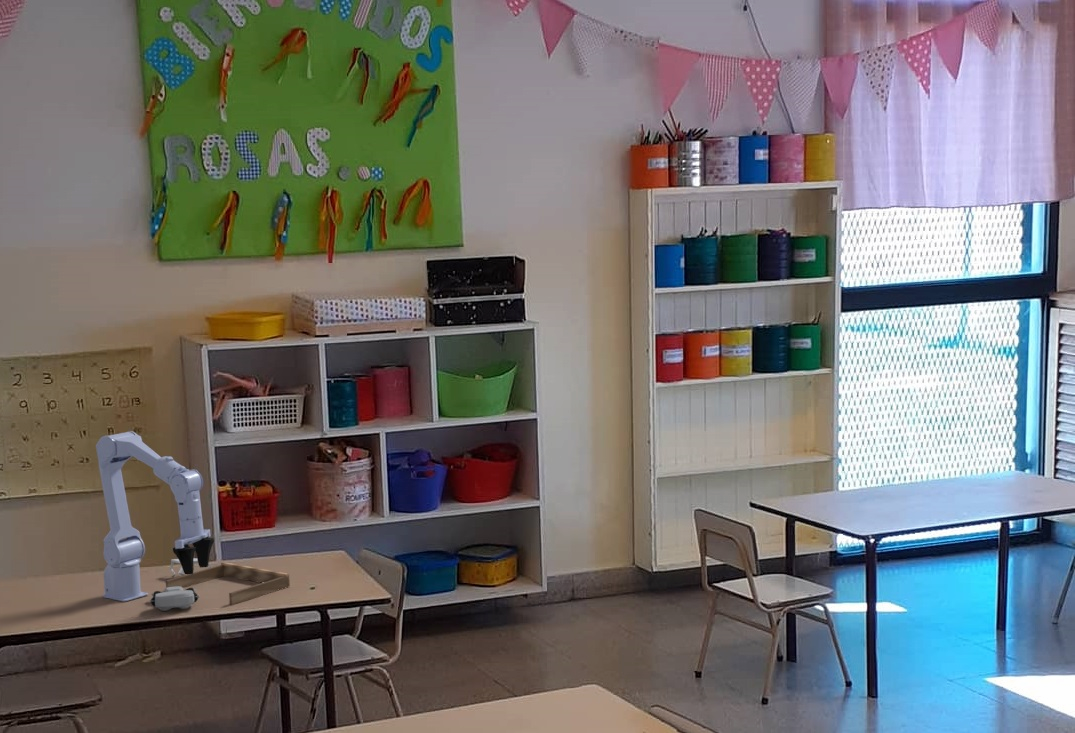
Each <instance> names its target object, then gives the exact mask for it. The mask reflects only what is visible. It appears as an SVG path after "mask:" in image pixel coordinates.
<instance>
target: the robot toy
mask: <svg viewBox="0 0 1075 733" xmlns="http://www.w3.org/2000/svg"><path fill="white" fill-rule="evenodd" d="M151 596H152V598H150V600H149V603H150V604H151V605H152V607H155V608H156V609H159V610H160V611H161V612H168V611H170V610H171V609H172V608H173V609H174V608H178V609H180V610H186V609H189V608H190V607H191V606H192V605H194V604H195V603H196V602H197V601H198V599H199V598H200V594H197V592H196V588H193V587H189V588H186V589H184V588H182V587H181V586H175V587H168V588H166V587H165V588H164V590H163V592H162V591H160V590H156V591H154V592H152V593H151Z"/></svg>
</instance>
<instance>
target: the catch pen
mask: <svg viewBox="0 0 1075 733" xmlns="http://www.w3.org/2000/svg"><path fill="white" fill-rule="evenodd" d="M228 576H229V577H230V578H233V577H234V579H239V578H240V580H244V579H246V580H245V581H249V580H252V581H251V582H255V581H258V582H257V584H254V585H251V586H247V587H245V588H242V589H238V590H235V591H232V592H229V593H228V596H229V597H228V598H229V600H228V601H229V605H230V606H233V605H237V604H240V603H243V602H246V601H249V600H253V599H256V598H259V597H262V596H265V595H267V594H266V593H268V594H271V593H270V592H272V593H274V592H273V591H275V592H277V591H276V590H278V589H281V590H283V589H282V588H284V589H286V588H285V587H287V588H289V587H288V586H290V587H291V585H290V584H291V583H290V573H288V572H287V573H286V572H280V571H277V570H270V569H264V568H261V567H253V566H249V565H242V564H238V563H231V562H227V561H226V562H225V561H222V562H220V565H219V564H218V565H216V566H212V567H211V568H209V567H207V568H205V569H202V570H199V571H195V572H194V571H193V574H184V576H182V575H180V576H177V577H174V578H171V579H167V580H165V588H168V587H175V586H181V587H182V588H183V589H184V588H187V587H190V586H194V585H197V584H200V583H204V582H207V581H211V580H214V579H218V578H221V577H228ZM229 577H228V578H229ZM260 582H264V583H260ZM278 591H279V590H278ZM264 594H265V595H264ZM261 595H262V596H261Z"/></svg>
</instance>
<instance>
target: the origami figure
mask: <svg viewBox="0 0 1075 733" xmlns="http://www.w3.org/2000/svg"><path fill="white" fill-rule="evenodd" d="M174 564H180V565H181V563H180V561H179V559H178V558H174V559H173V558H172V559H170V571H171V572H172V573H173V577H175V576H176V572H175V571H174V569H173V566H174ZM194 564H198V559H197V558H195V557H194V559H193V565H194ZM207 568H212V567H211V565H210V563H208V567H207ZM177 574H178V575H180V576H184V575H185V573H184V571H183V568H182V566H180V568H179V571H178V572H177Z"/></svg>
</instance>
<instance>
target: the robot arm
mask: <svg viewBox="0 0 1075 733" xmlns="http://www.w3.org/2000/svg"><path fill="white" fill-rule="evenodd" d="M95 450H96V455H97V460H98V470H99V475H100V480H101V485H102V492H103V497H104V498H103V499H104V502H105V509H106V513H107V518H108V519H107V520H108V523H109V524H108V525H109V529H110V530H109V532H108V533H107V534H106V535H105V537H104V538H103V540H102V541H103V558H104V560H105V562H106V563H107V565H106V566H105V567H104V570H103V582H104V583H103V584H104V586H103V587H104V594H102V596H101V597H102V598H105V599H109V600H114V601H119V602H124V603H125V602H128V601H132V600H135V599H139V598H142V597H145V596H148V595H149V593H148V592H144V591H142V588H141V572H140V563H141V562H142V559H143V557H144V556H145V554H146V546H145V542H144V540H143V538H142V537H141V532H140V531H139V530H138V529H136V528H135V527H133V526H132V522H131V516H130V511H129V506H128V501H127V494H126V489H125V483H124V480H123V473H122V468H123V466H124V465H125V463H126V462H127V461H128V460H130V459H131V458H135V459H136V460H138V461H140V462H142V463H143V464H145V465H147V466H149V467H150V468H152V470H153V475H155V476H156V477H157V478H159V479H160V480H161V481H163V482H164V483H166V484H167V485H169V487H170V491H171V492H172V493H173V495H174V501H175V502H176V503H177V511H178V520H179V529H180V536H179V538H178V539H176V540H174V547H173V548H172V552H173V554H175V556H176V557H177V558H176V559H179V561H180V563H181V564H180V565H181V566H182V568H183V571H182V572H183V574H184V575H187V574H193V573H194V570H195V569H194V564H193V559H194V558H195V554H196V557H197V559H198V563H197V564H198V566H199V568H209V567H208V564H210V553H211V550H212V547H213V544H214V542H215V538H214V537H211V529H210V528H209V529H204V521H203V514H202V504H201V503H202V502H201V494H200V491H201V490H202V489H203V487H204V479H203V475H202V474H201V473H200V472H199V471H198V470H197V469H187V468H186V467H185V466H184V465H181V464H180V463H179V462H177V461H176V460H174V458H173V456H167V455H165V456H162V457H161V456H160V455H159V454H158V453H156V451H154V450H153V449H152V448H150V446H148V445H147V444H146V443H144V442H143V438H142V436H141V435H139V434H137V433H136V432H135V431H133V430H128V431H126V432H120V433H116V434H110V435H103V436H101V437H100V438H99V440H98V442H97V443H96V444H95ZM190 545H192V546H190ZM181 566H180V567H181Z"/></svg>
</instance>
